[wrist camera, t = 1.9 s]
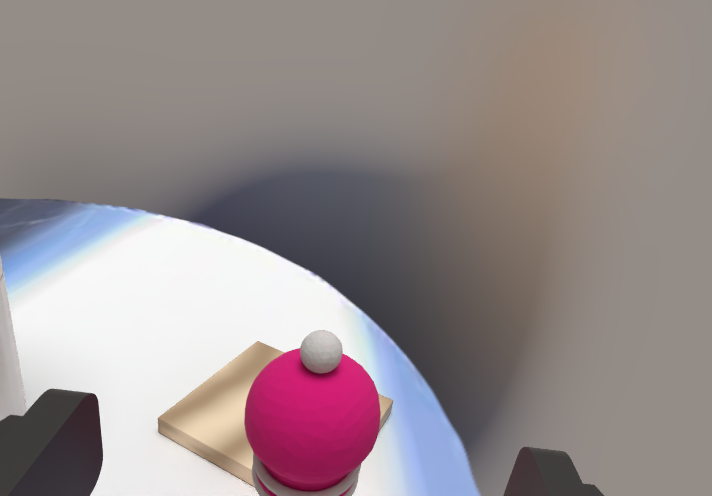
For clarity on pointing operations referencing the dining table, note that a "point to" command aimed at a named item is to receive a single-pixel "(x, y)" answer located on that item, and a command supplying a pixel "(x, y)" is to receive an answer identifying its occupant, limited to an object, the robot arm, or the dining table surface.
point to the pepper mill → (311, 421)
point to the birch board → (226, 413)
